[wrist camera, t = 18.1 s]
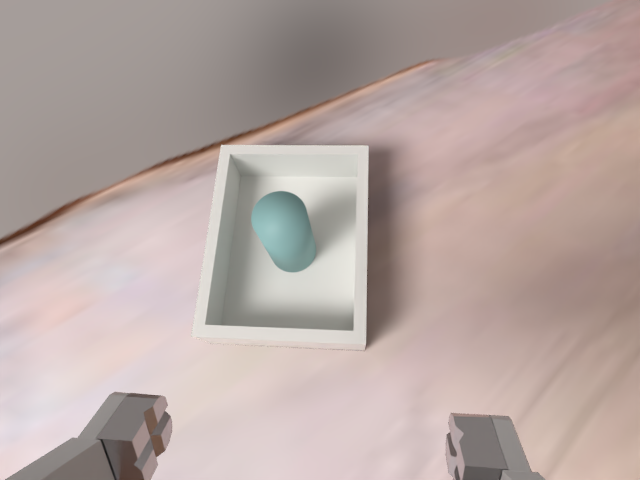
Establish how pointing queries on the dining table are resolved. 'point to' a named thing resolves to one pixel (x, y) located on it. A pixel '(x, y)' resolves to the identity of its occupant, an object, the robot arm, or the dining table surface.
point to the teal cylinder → (284, 230)
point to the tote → (259, 269)
